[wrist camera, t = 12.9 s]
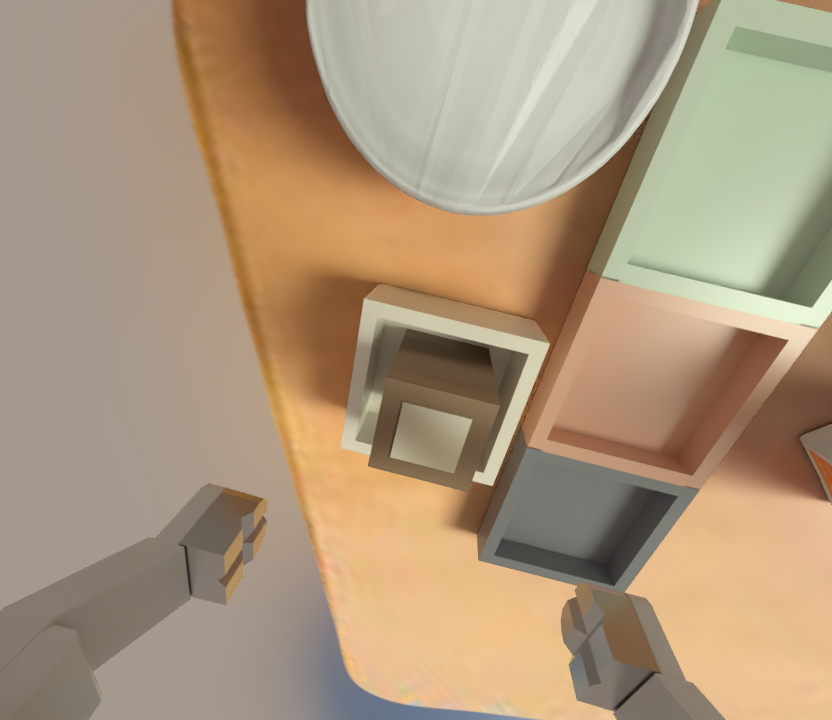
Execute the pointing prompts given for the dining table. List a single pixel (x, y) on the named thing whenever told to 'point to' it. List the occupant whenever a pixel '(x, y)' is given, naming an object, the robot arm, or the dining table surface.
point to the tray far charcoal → (576, 519)
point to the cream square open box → (405, 309)
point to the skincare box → (821, 455)
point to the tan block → (435, 411)
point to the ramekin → (493, 89)
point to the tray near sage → (735, 169)
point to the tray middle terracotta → (656, 381)
